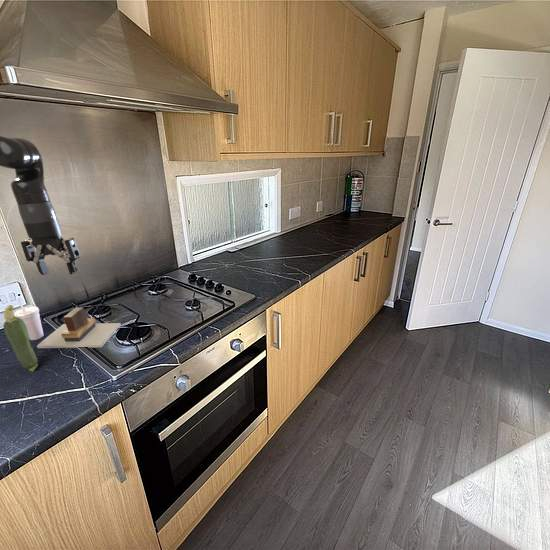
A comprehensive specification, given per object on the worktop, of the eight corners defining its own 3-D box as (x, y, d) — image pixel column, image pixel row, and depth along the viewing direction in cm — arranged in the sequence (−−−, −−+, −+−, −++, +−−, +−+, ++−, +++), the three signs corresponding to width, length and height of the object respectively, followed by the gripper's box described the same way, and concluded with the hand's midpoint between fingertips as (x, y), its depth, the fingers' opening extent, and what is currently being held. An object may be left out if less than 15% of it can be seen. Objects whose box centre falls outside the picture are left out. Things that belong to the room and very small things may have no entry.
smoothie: (35, 331, 98) (19, 294, 93) (53, 331, 98) (38, 294, 92) (19, 342, 92) (1, 304, 87) (38, 342, 92) (21, 303, 86)
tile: (37, 348, 90) (36, 345, 89) (64, 326, 101) (63, 323, 100) (101, 347, 89) (100, 344, 88) (121, 325, 100) (120, 323, 99)
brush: (79, 341, 90) (71, 319, 87) (64, 342, 90) (55, 320, 87) (96, 325, 98) (90, 304, 95) (82, 325, 99) (75, 305, 95)
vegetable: (19, 373, 79) (-12, 309, 71) (33, 362, 83) (5, 301, 75) (33, 374, 79) (4, 310, 71) (47, 363, 83) (20, 301, 75)
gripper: (74, 215, 83) (90, 268, 89) (25, 216, 83) (45, 269, 90) (55, 221, 76) (74, 278, 82) (2, 222, 76) (25, 279, 83)
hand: (59, 273), depth 86 cm, fingers open, 8 cm apart
